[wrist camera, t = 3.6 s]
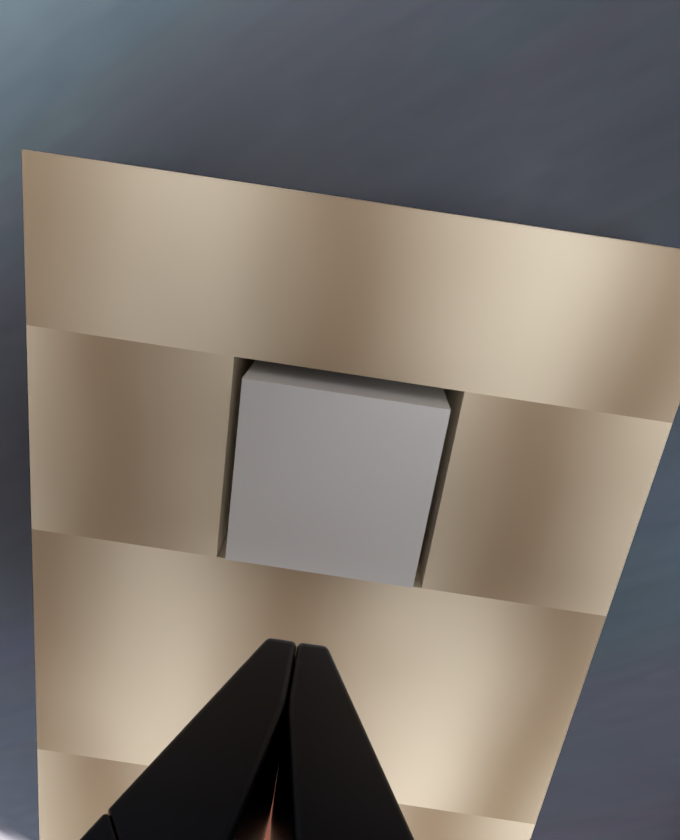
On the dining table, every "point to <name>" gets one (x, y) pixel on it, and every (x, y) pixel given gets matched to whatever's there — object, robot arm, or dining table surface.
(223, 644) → the console
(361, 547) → the button grey
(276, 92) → the dining table surface
